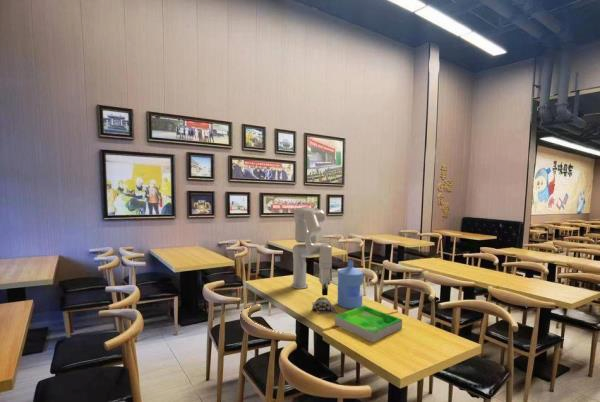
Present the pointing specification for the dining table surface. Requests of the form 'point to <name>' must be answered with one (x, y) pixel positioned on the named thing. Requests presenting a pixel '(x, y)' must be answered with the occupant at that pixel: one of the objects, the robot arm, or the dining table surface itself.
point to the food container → (322, 305)
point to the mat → (327, 311)
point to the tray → (368, 323)
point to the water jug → (349, 287)
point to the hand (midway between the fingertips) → (324, 294)
